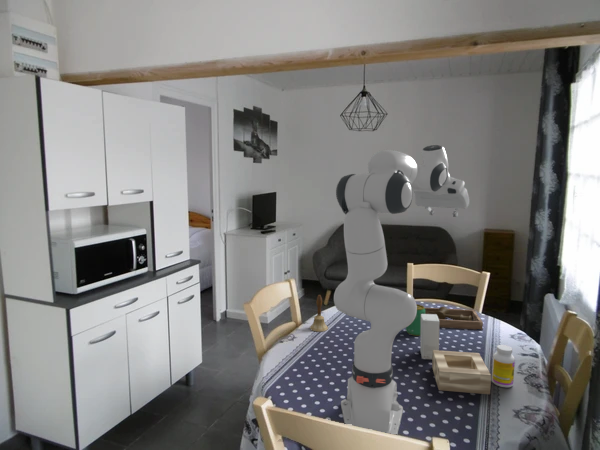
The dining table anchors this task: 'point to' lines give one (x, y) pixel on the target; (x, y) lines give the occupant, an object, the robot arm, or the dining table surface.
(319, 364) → the dining table surface
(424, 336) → the skincare box
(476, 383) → the birch tray frame
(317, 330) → the hand bell
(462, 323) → the walnut tray frame
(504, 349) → the supplement bottle
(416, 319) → the beverage can
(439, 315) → the kendama
